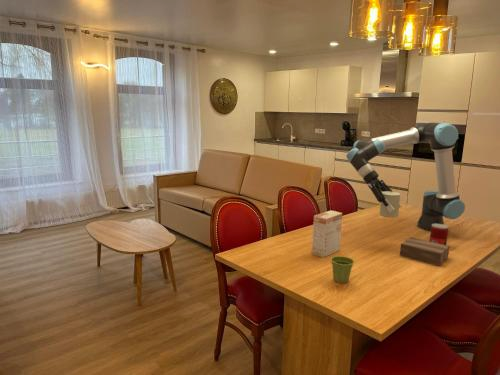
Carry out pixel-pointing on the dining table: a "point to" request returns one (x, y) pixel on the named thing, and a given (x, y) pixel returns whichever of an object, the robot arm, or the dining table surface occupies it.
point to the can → (394, 201)
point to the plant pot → (341, 268)
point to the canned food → (439, 233)
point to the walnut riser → (424, 251)
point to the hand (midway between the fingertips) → (395, 209)
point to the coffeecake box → (326, 233)
